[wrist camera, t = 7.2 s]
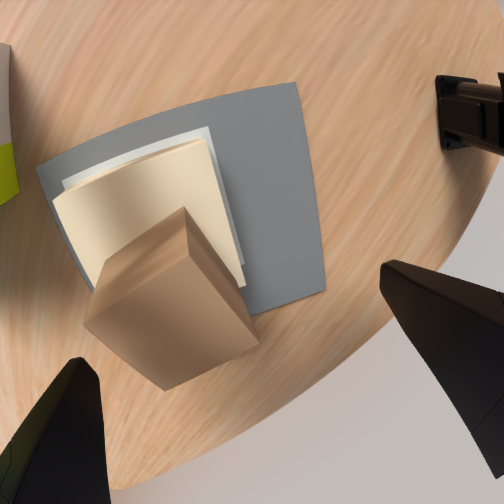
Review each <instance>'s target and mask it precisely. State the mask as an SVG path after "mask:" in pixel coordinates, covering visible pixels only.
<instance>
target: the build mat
mask: <svg viewBox="0 0 504 504" xmlns="http://www.w3.org/2000/svg"><path fill="white" fill-rule="evenodd" d="M200 137H202V138H203V139H204V140H205V141H206V142H207V145H208V149H209V153H210V156H211V160H212V164H213V168H214V171H215V175H216V179H217V182H218V186H219V190H220V193H221V197H222V201H223V204H224V208H225V211H226V215H227V219H228V222H229V226H230V229H231V233H232V237H233V240H234V244H235V247H236V251H237V254H238V258H239V261H240V265H241V269H242V272H243V276H244V279H245V283H246V286H243V287H240V288H239V289H240V292H241V295H242V297H243V300H244V303H245V305H246V308H247V311H248V313H249V316H252V315H255V314H258V313H261V312H264V311H267V310H270V309H273V308H276V307H279V306H282V305H284V304H287V303H290V302H293V301H296V300H298V299H301V298H304V297H307V296H309V295H312V294H315V293H318V292H320V291H323V290H325V289H326V284H325V272H324V262H323V252H322V242H321V233H320V224H319V216H318V208H317V201H316V193H315V186H314V180H313V173H312V166H311V160H310V154H309V148H308V142H307V136H306V131H305V125H304V120H303V114H302V109H301V104H300V99H299V94H298V89H297V85H296V82H292V83H285V84H278V85H272V86H266V87H260V88H255V89H250V90H245V91H240V92H235V93H231V94H226V95H222V96H218V97H214V98H210V99H206V100H202V101H198V102H195V103H191V104H188V105H184V106H181V107H177V108H174V109H171V110H168V111H165V112H161V113H158V114H155V115H152V116H150V117H147V118H144V119H141V120H138V121H135V122H133V123H130V124H127V125H125V126H122V127H120V128H117V129H115V130H112V131H110V132H107V133H105V134H103V135H100V136H98V137H96V138H93V139H91V140H89V141H87V142H84V143H82V144H80V145H78V146H76V147H74V148H72V149H70V150H67V151H65V152H63V153H61V154H59V155H58V156H56V157H54V158H52V159H50V160H48V161H46V162H44V163H42V164H41V165H39V166H37V167H35V171H36V173H37V176H38V179H39V182H40V184H41V187H42V190H43V192H44V195H45V197H46V200H47V202H48V205H49V207H50V210H51V212H52V214H53V217H54V219H55V221H56V223H57V226H58V228H59V230H60V232H61V234H62V237H63V239H64V241H65V243H66V245H67V247H68V249H69V251H70V253H71V255H72V257H73V259H74V261H75V263H76V265H77V267H78V268H79V270H80V272H81V274H82V276H83V278H84V280H85V281H86V283H87V285H88V287H89V288H90V290H91V292H92V294H93V292H94V289H95V288H94V286H93V285H92V283H91V281H90V279H89V277H88V276H87V274H86V272H85V270H84V268H83V266H82V264H81V262H80V260H79V258H78V256H77V254H76V252H75V250H74V248H73V246H72V244H71V242H70V240H69V238H68V236H67V234H66V232H65V229H64V227H63V225H62V223H61V220H60V218H59V216H58V213H57V211H56V209H55V206H54V204H53V200H54V199H55V198H56V197H57V196H59V195H60V194H61V193H62V192H64V191H65V190H66V189H67V188H69V187H70V186H71V185H73V184H75V183H78V182H80V181H82V180H84V179H86V178H89V177H91V176H93V175H96V174H98V173H100V172H103V171H105V170H108V169H110V168H113V167H115V166H118V165H120V164H123V163H125V162H128V161H131V160H133V159H136V158H139V157H142V156H144V155H147V154H150V153H153V152H156V151H159V150H162V149H165V148H168V147H171V146H174V145H177V144H180V143H183V142H187V141H190V140H193V139H197V138H200Z"/></svg>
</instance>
